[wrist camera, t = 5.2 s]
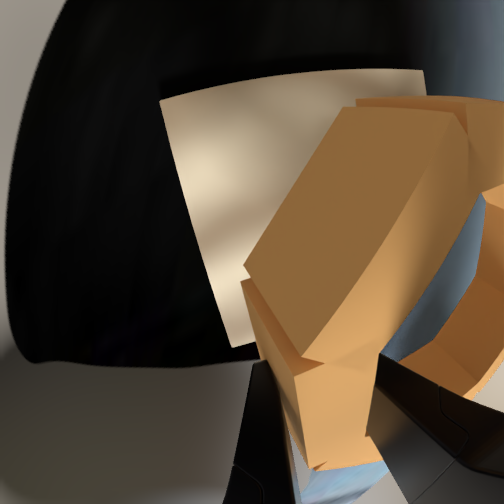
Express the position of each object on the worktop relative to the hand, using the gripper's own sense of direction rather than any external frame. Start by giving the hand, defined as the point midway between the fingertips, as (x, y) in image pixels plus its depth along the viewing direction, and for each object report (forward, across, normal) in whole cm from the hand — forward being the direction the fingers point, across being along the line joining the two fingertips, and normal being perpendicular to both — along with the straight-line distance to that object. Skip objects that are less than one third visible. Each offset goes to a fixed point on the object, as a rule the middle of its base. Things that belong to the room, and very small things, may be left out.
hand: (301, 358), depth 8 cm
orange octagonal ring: (+2, -5, 0) cm, 6 cm away
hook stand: (+11, -6, 0) cm, 12 cm away
